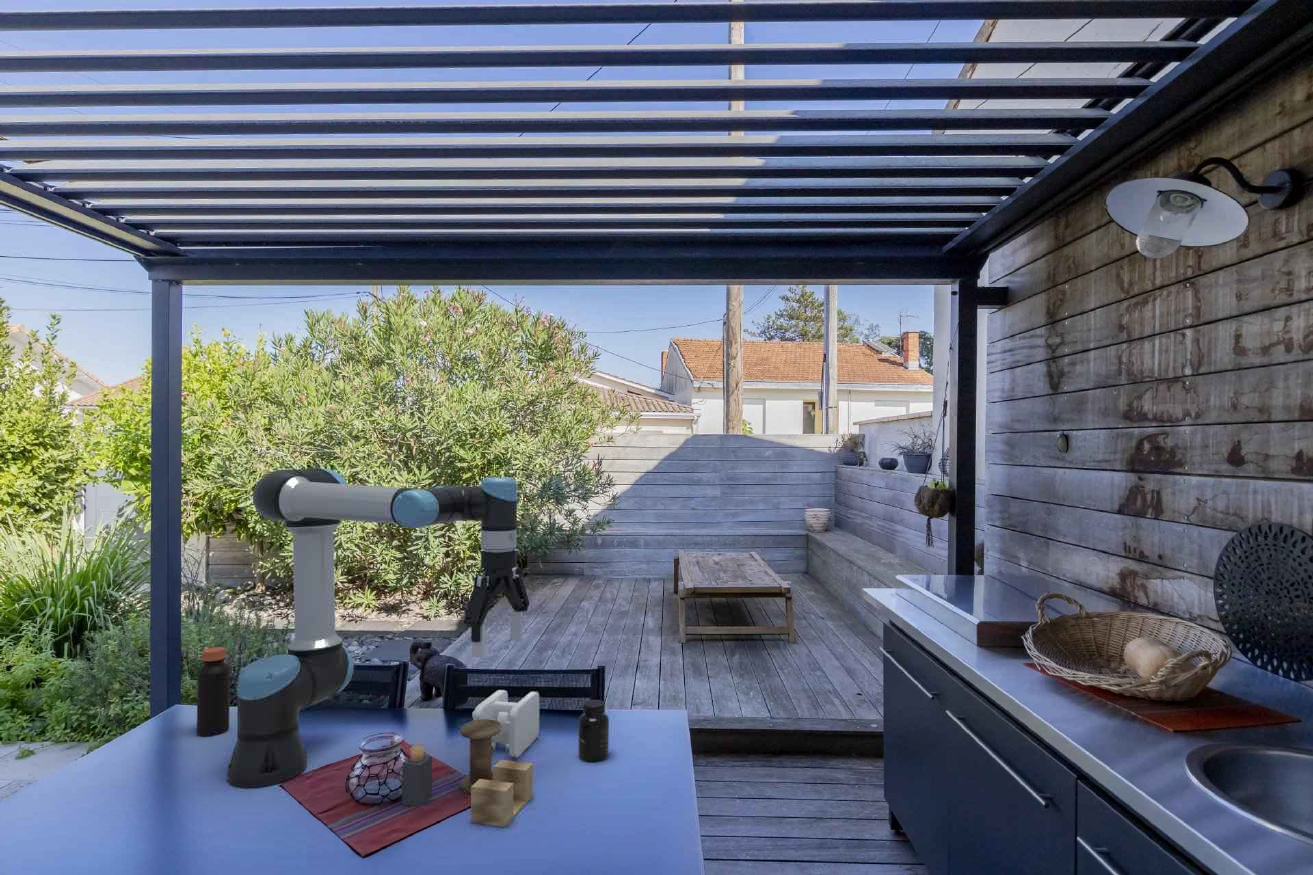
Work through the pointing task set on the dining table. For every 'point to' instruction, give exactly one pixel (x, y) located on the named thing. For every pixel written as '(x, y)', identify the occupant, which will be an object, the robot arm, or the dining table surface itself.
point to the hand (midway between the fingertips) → (498, 648)
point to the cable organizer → (512, 720)
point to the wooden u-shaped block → (502, 793)
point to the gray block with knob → (417, 777)
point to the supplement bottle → (593, 732)
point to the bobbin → (479, 750)
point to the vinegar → (213, 693)
